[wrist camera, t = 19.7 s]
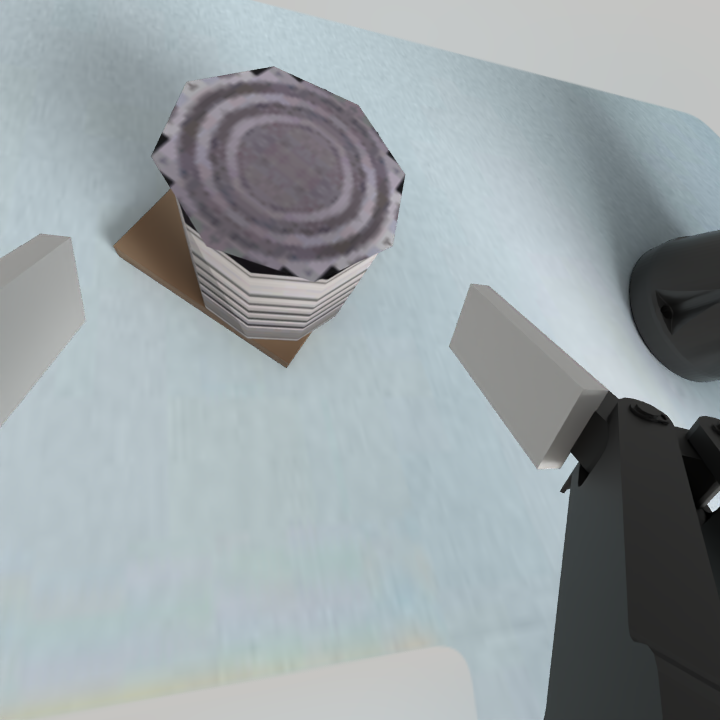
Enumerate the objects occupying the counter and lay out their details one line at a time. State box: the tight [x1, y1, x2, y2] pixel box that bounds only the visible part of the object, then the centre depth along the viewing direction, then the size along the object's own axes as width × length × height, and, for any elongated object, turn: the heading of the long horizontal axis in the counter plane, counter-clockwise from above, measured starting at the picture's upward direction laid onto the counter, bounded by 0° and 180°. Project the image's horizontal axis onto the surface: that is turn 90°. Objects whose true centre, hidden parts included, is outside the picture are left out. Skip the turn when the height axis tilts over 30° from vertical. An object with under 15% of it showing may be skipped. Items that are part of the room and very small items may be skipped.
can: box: [151, 67, 405, 341], centre depth 24 cm, size 11×11×12 cm
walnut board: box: [113, 189, 311, 368], centre depth 31 cm, size 16×14×2 cm
